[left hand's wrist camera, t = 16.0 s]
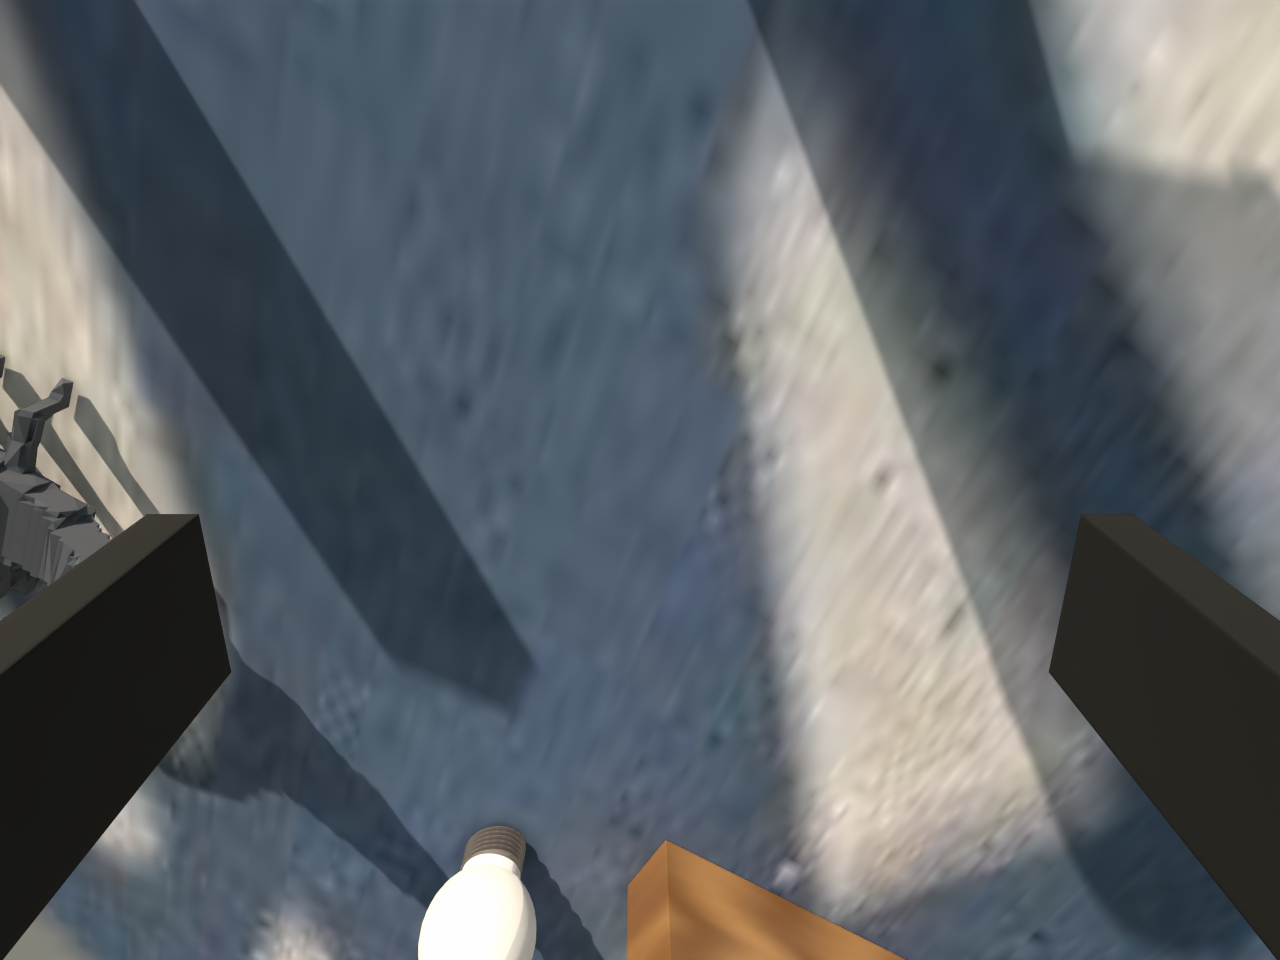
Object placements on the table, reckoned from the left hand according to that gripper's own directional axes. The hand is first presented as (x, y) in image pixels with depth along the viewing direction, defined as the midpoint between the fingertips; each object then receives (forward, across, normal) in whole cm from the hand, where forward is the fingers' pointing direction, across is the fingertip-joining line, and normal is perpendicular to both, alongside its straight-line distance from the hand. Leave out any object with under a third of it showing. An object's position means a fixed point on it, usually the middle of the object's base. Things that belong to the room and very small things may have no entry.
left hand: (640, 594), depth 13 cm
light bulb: (+32, -10, -37) cm, 50 cm away
